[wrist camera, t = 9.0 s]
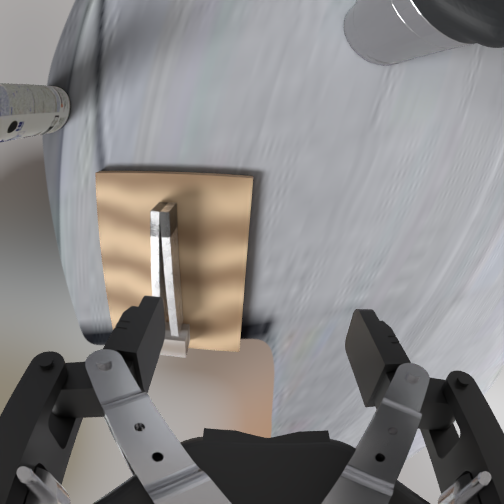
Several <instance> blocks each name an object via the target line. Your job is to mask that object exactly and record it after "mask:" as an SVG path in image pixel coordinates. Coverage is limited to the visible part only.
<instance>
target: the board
mask: <svg viewBox="0 0 504 504" xmlns="http://www.w3.org/2000/svg"><path fill="white" fill-rule="evenodd" d="M252 186H253V176H245V175H231V174H214V173H194V172H166V171H99V172H97V173H96V197H97V213H98V225H99V237H100V246H101V255H102V264H103V271H104V279H105V285H106V292H107V298H108V304H109V310H110V316H111V321H112V326H113V330H114V328H115V326H116V324H117V322H119V319H120V317H121V315H122V314H123V312H124V311H126V310H127V309H128V308H130V307H131V306H137V307H138V306H139V304H140V303H141V301H142V299H143V297H144V296H145V295H146V296H152V281H151V236H150V211H151V210H152V209H153V208H154V207H155V206H156V205H157V204H158V203H159V202H168V203H177V221H178V226H177V230H178V250H179V267H180V282H181V296H182V308H183V323H182V326H181V330H180V333H179V337H178V336H171V330H170V322H169V313H168V304H167V315H168V318H167V321H166V324H165V340H164V343H163V346H162V349H161V352H160V355H168V356H177V357H186V355H187V351H188V348H197V349H207V350H220V351H235V352H239V349H240V337H241V324H242V311H243V298H244V285H245V273H246V260H247V248H248V235H249V223H250V211H251V198H252Z"/></svg>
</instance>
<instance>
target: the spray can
mask: <svg viewBox="0 0 504 504" xmlns="http://www.w3.org/2000/svg"><path fill="white" fill-rule="evenodd" d="M69 114H70V99H69V97H68V95H67V93H66V92H65V91H64V90H63V89H61V88H59V87H55V86H44V85H28V84H3V83H1V84H0V142H4V141H9V140H14V139H20V138H25V137H30V136H36V135H43V134H48V133H53V132H55V131H57V130H59V129H60V128H61V127H62V126H64V124H65V123H66V121H67V119H68V117H69Z"/></svg>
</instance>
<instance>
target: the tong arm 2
mask: <svg viewBox="0 0 504 504" xmlns="http://www.w3.org/2000/svg"><path fill="white" fill-rule="evenodd" d="M177 226H178V221H177V203H167V204H166V205H165V207H164V208H163V209H162V210H161V211H160V227H161V237H162V250H163V263H164V275H165V285H166V295H167V304H168V313H169V322H170V330H171V336H178V337H179V333H180V330H181V326H182V323H183V308H182V296H181V282H180V267H179V250H178V230H177Z"/></svg>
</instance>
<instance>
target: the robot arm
mask: <svg viewBox="0 0 504 504" xmlns="http://www.w3.org/2000/svg"><path fill="white" fill-rule="evenodd" d="M344 32H345V36H346V38H347V41H348V42H349V44H350V46H351V47H352V48H353V50H354V51H355V52H356V53H357V54H358V55H360V56H361V57H362V58H363V59H365V60H367V61H369V62H371V63H374V64H377V65H383V66H384V65H392V64H397V63H399V62H403V61H407V60H410V59H414V58H417V57H421V56H425V55H428V54H432V53H436V52H440V51H444V50H448V49H452V48H456V47H461V46H465V45H470V44H474V43H478V44H481V45H484V46H487V47H493V48H501V47H504V0H356V4H355V5H354V6H353V7H352V8H351V9H350V10H349V11H348V13H347V14H346V17H345V20H344ZM395 336H396V335H395V334H394V332H393V330H392V329H391V327H390V326H388V325H387V324H386V323H385V322H384V321H379V319H378V317H377V316H376V314H375V312H374V311H373V310H372V309H356V310H355V311H354V313H353V316H352V320H351V323H350V326H349V330H348V333H347V337H346V341H345V349H346V353H347V356H348V359H349V361H350V364H351V367H352V370H353V373H354V376H355V378H356V381H357V384H358V387H359V390H360V393H361V396H362V399H363V402H364V405H365V407H373V406H376V409H377V410H376V412H375V414H374V416H373V418H372V420H371V422H370V424H369V425H368V427H367V429H366V431H365V433H364V434H363V436H362V438H361V440H360V441H359V443H358V445H357V447H356V448H354V447H352V446H350V445H348V444H346V443H343V442H341V441H337V440H333V439H330V438H329V433H328V431H306V432H295V433H291V434H287V435H282V436H277V437H272V438H264V437H259V436H255V435H251V434H246V433H242V432H239V431H233V430H218V429H206V428H204V434H203V437H197V438H192V439H189V440H185V441H183V442H179V441H178V439H177V438H176V437H175V435H174V434H173V432H172V431H171V429H170V428H169V426H168V425H167V423H166V422H165V420H164V419H163V417H162V416H161V414H160V413H159V411H158V410H157V408H156V406H155V405H154V403H153V402H152V400H151V399H150V397H149V395H148V394H147V393H148V390H149V386H150V383H151V380H152V377H153V374H154V370H155V368H156V364H157V361H158V358H159V355H160V352H161V349H162V346H163V343H164V340H165V317H164V304H163V298H162V297H156V296H146V295H145V296H144V297H143V299H142V301H141V303H140V304H139V306H138V307H137V306H131V307H130V308H128V309H127V310H126V311H124V312H123V314H122V315H121V317H120V319H119V322H117V324H116V326H115V328H114V330H113V331H112V333H111V335H110V337H109V339H108V341H107V342H106V344H105V346H104V348H103V349H102V350H98V351H95V352H93V353H92V354H90V355H89V356H88V357H87V359H86V361H85V362H75V363H65V361H64V359H63V357H62V356H61V355H60V354H59V353H56V352H43V353H41V354H39V355H37V356H36V357H35V358H34V359H33V360H32V361H31V363H30V365H29V366H28V368H27V369H26V371H25V373H24V374H23V376H22V378H21V380H20V381H19V383H18V385H17V387H16V388H15V390H14V392H13V394H12V396H11V397H10V399H9V401H8V403H7V405H6V406H5V408H4V410H3V412H2V414H1V416H0V504H70V497H69V495H68V493H67V492H66V490H65V489H64V488H63V487H62V486H61V484H62V481H63V477H64V474H65V471H66V467H67V464H68V461H69V457H70V455H71V451H72V448H73V445H74V442H75V439H76V436H77V433H78V430H79V427H80V424H81V422H82V419H83V417H104V418H105V421H106V423H107V425H108V427H109V429H110V431H111V433H112V435H113V438H114V440H115V442H116V444H117V446H118V448H119V450H120V451H121V454H122V456H123V458H124V459H125V461H126V463H127V465H128V467H129V469H130V471H131V473H132V474H133V476H132V477H131V478H129V479H128V480H127V481H126V482H124V483H122V484H121V485H120V486H118V487H117V488H115V489H114V490H112V491H111V492H109V493H108V494H107V495H105V496H104V497H102V498H101V499H99V500H97V501H96V502H94V503H93V504H430V503H429V502H427V501H426V500H424V499H423V498H421V497H420V496H419V495H417V494H416V493H414V492H413V491H412V490H410V489H409V488H407V487H406V486H405V485H403V484H402V483H400V482H399V481H398V480H397V478H398V476H399V474H400V471H401V469H402V467H403V465H404V462H405V460H406V457H407V455H408V452H409V450H410V447H411V445H412V442H413V440H414V437H415V434H416V431H417V429H418V428H419V429H420V430H421V433H422V435H423V438H424V441H425V444H426V447H427V450H428V453H429V456H430V459H431V462H432V464H433V468H434V471H435V474H436V478H437V481H438V484H439V487H440V491H441V495H440V497H439V500H438V504H504V433H503V431H502V429H501V428H500V425H499V423H498V422H497V420H496V418H495V416H494V414H493V412H492V410H491V408H490V407H489V405H488V403H487V401H486V399H485V398H484V396H483V394H482V392H481V391H480V389H479V387H478V385H477V384H476V382H475V380H474V379H473V378H472V377H471V376H470V375H469V374H467V373H465V372H462V371H453V372H451V373H450V374H449V375H448V377H447V378H446V380H442V379H435V378H430V377H429V374H428V372H427V371H426V370H425V369H424V368H423V367H421V366H419V365H417V364H413V363H411V362H410V360H409V358H408V357H407V355H406V353H405V351H404V350H403V348H402V346H401V344H400V343H399V341H398V339H397V337H395ZM455 420H456V422H457V424H458V426H459V428H460V433H461V434H460V438H459V436H458V434H457V431H456V429H455V427H454V424H453V422H454V421H455Z"/></svg>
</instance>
